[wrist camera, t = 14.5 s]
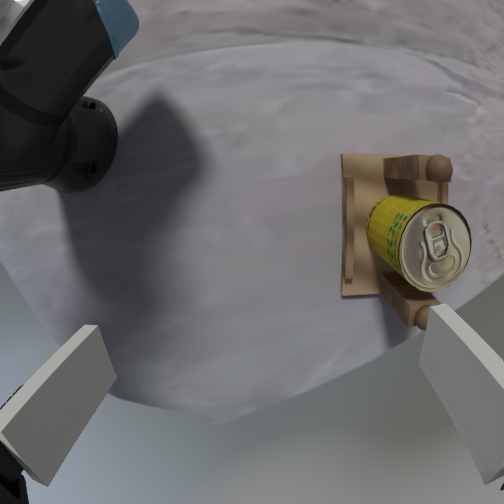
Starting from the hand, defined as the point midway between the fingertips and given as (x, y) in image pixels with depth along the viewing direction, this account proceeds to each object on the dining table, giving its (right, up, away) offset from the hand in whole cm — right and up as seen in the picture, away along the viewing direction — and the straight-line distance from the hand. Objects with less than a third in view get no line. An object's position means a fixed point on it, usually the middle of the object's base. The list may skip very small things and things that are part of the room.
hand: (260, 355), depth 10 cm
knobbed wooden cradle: (+19, +7, +27) cm, 34 cm away
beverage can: (+19, +7, +26) cm, 33 cm away
